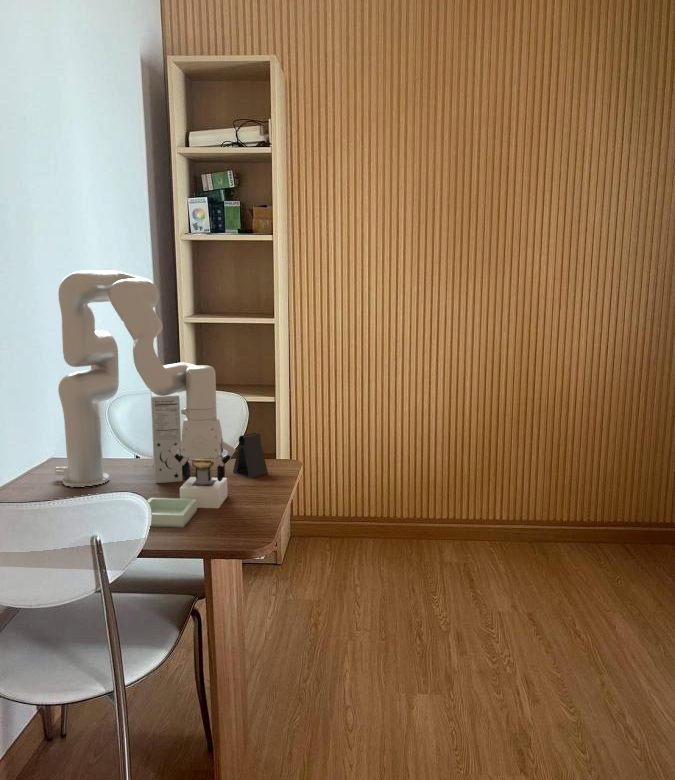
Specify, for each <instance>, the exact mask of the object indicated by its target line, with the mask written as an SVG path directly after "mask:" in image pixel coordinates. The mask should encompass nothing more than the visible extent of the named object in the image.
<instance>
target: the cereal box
mask: <svg viewBox="0 0 675 780" xmlns="http://www.w3.org/2000/svg"><path fill="white" fill-rule="evenodd" d="M150 404H151V406H150V408H151V409H150V411H151V429H152V431H151V432H152V450H153V451H152V453H153V455H152V456H153V468H154V469H153V470H154V471H153V472H154V482H155V484H164V483H180V482H183V476H182V465H181V464H180V462H179V461H178V460H177V459H176V458H175V456H174V455H173V454H172V452H171V450H170V449H171V448H172V447H174V446H175V445H177V444H178V443H180V442H181V441H182V431H181V430H182V429H181V410H180V409H181V407H180V406H181V405H180V394H179V392H178V393H174V394H170V395H166V396H159V395H156V394H154V393H153V392H152V391H150ZM178 451H179V453H180V454H181V455H182V453H181V448H179V449H178Z"/></svg>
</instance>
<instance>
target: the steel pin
mask: <svg viewBox="0 0 675 780" xmlns="http://www.w3.org/2000/svg"><path fill="white" fill-rule="evenodd" d="M191 461H192V462H191V463H192V466H193V467H194V468H195V477H196V486H211V487H212V478H213V476H212V467H213V466H214V465H215V459H192V460H191Z"/></svg>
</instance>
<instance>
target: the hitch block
mask: <svg viewBox="0 0 675 780" xmlns="http://www.w3.org/2000/svg"><path fill="white" fill-rule="evenodd" d="M228 492H229V491H228V478H227V477H223V479H222V480H221V481H218V477H212V487H211V486H196V476H190V478H189V479H188V480H185V482H184V483H183V484H182V485H181V486H180V487H179V499H197V509H198V508H200V509H201V508H202V509H219V508H220V507H221V506H222V504H224V502H225V500H226V499H227V498H228V496H229V495H228Z"/></svg>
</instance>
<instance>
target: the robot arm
mask: <svg viewBox="0 0 675 780" xmlns="http://www.w3.org/2000/svg"><path fill="white" fill-rule="evenodd" d="M57 294H58V295H57V296H58V304H59V308H60V315H61V333H62V334H61V336H62V337H61V338H62V354H63V359H64V361H65V363H66V364H67V365H68V366H69V367H74V368H84V367H89V366H90V369H88V370H87V369H85V370H80V371H74V372H71V373H69V374H66V375H65V376H64V377H63V378H62V379H61V380H60V381H59V384H58V391H57V392H58V396H59V400H60V404H61V407H62V412H63V413H62V414H63V420H64V421H63V422H64V432H65V433H64V435H65V450H66V466H55V468H54V473H55V475H56V476H64V478H62V485H63V484H64V485H63V486H65V487H67V486H70V487H69V488H73V487H82V486H89V485H90V486H91V485H97V484H101V483H104V484H106V483H107V481H108V480H109V481H110V475H109V474H108V473H107V472H104V460H103V445H102V443H103V442H102V426H101V419H100V415H99V413H98V410H97V409H96V407H95V406H94V404H97V403H100V402H101V403H102V402H105V401H107V400H110V399H112V398H114V397H115V396H116V395H117V392H118V389H119V383H120V380H119V379H120V376H119V375H120V374H119V373H120V372H119V371H120V370H119V348H118V345H117V344H118V343H117V341H116V339H115V337H114V336H113V335H112V334H111V333H109V332H108V331H106V330H96V327H95V326H96V324H95V323H96V322H95V321H96V319H95V315H94V312H93V310H92V308H91V307H90V305H89V304H90V303H105V302H106V303H107V302H108V303H109V302H110V304H111V306H112V307H113V309H114V311H115V312H116V313H117V315H118V317H119V319H120V321H122V323H123V326H125V328H126V329H127V331H128V333H129V335H130V336H131V339H132V340H133V345H132V355H133V364H134V367H135V369H136V371H137V373H138V375H139V376H140V378H141V379H142V382H143V383H144V384H145V386H146V387H147V388H148V389H149V391H150V392H151V391H152V392H153V393H154V394H156V395H159V396H166V395H170V394H174V393H178V394H179V393H182V392H185V397H186V398H185V399H186V400H185V401H186V407H185V408H182V409H181V410H180V415H184V416H185V418H184V419H183V423H182V429H181V430H182V431H181V442H180V443H178V444H177V445H175V446H174V447H172V448H171V449H170V450H171V452H172V454H173V455H174V456H175V458H176V459H177V460H178V461H179V462H180V464H181V465H182V477H183V480H184V481H187V480H188V479H189V478H190V477H191V466H190V465H191V463H190V462H189V460H190V459H192V460H193V459H214V461H216V463H217V464H218V465H217V467H216V468H217V469H216V471H217V472H216V473H217V474H216V475H217V478H218V481H221V480H222V479H223V478H226V464H227V463H228V462H229V461H230V459H232V457H233V455H234V453H236V448H234V447H233V446H232V445H230V444H228V443H227V442H225V441H224V439H223V431H222V425H221V421H220V418H219V417H217V415H218V413H217V386H216V385H217V384H216V381H217V380H216V370H215V368H214V367H213V366H212V365H206V364H205V365H204V364H201V365H197V364H192V363H189V362H185V361H181V362H180V361H179V362H177V363H170V364H162V362H161V360H160V358H159V357H158V355H157V354H156V350H155V348H154V340H155V338H156V337H158V335H159V334H160V333H161V332H162V330H163V327H164V326H163V323H162V320H161V319H160V318H159V317H158V315H157V313H156V311H155V309H153V308H155V307H157V305H158V303H159V300H160V292H159V290H158V287H157V286H156V284H155V283H154V282H153V281H151V280H150V279H148V278H145V277H142V276H138V275H133V274H130V273H126V272H122V271H118V270H79V271H74V272H72V273H70V274H67V276H65V277H64V278H63V279H62V281H61V283H60V285H59V288H58V293H57ZM179 448H181V454H180V453H179V451H178V449H179ZM224 450H225V451H226V452H227V455H226V456H223V453H224ZM109 481H108V482H109ZM105 482H106V483H105ZM101 485H102V484H101Z"/></svg>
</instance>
